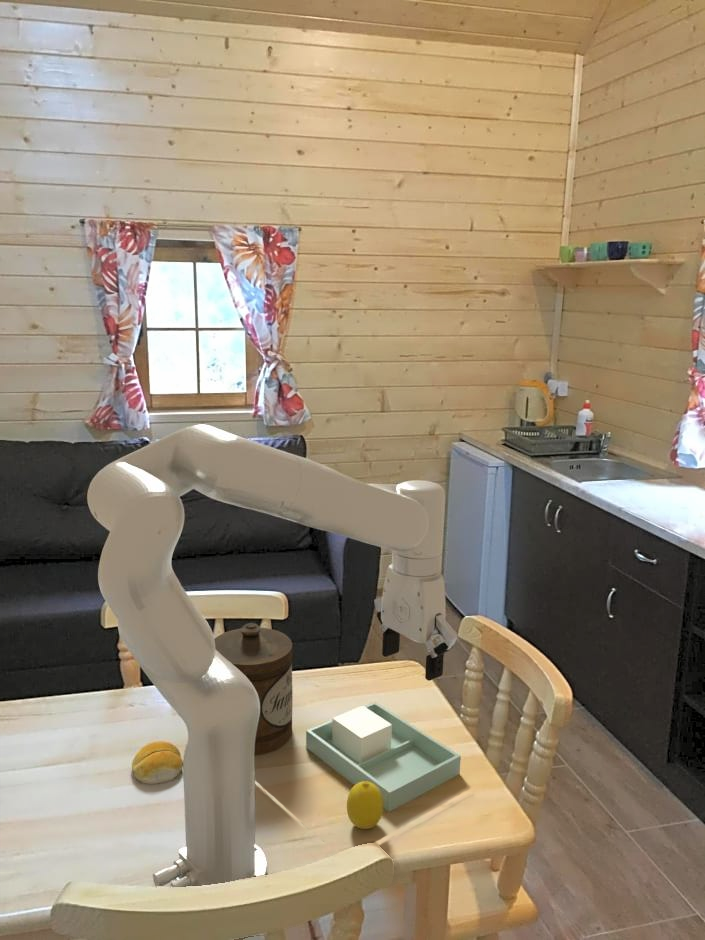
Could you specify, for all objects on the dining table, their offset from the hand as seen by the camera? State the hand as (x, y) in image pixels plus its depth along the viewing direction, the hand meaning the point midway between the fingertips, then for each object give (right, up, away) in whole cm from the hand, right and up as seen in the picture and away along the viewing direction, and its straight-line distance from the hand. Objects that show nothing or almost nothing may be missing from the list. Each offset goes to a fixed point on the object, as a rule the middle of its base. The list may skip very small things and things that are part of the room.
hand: (411, 665), depth 125 cm
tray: (-4, -20, +13) cm, 24 cm away
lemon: (-7, -24, -3) cm, 26 cm away
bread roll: (-42, -21, +11) cm, 48 cm away
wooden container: (-28, -18, +21) cm, 39 cm away
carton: (-8, -19, +17) cm, 26 cm away
